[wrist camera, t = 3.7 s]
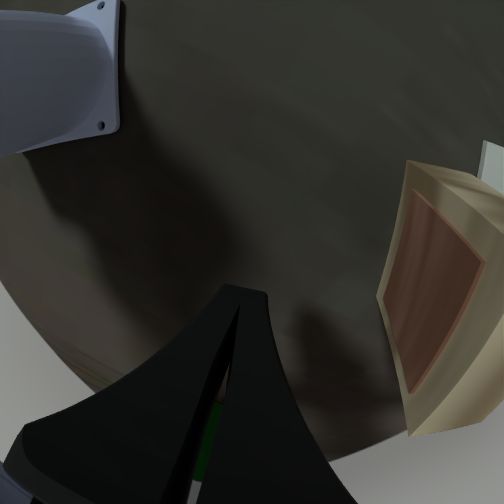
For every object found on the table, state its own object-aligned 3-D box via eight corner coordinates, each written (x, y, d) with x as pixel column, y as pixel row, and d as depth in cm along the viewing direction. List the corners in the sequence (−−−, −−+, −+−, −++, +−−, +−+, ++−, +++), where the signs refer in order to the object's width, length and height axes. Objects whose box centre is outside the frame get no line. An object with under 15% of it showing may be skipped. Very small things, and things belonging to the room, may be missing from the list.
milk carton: (235, 437, 28) (202, 585, 11) (160, 413, 28) (109, 558, 11) (262, 409, 24) (225, 605, 6) (167, 379, 23) (96, 572, 6)
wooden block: (372, 295, 16) (404, 437, 8) (403, 159, 12) (524, 259, 4) (432, 298, 15) (481, 421, 7) (470, 173, 11) (588, 267, 3)
